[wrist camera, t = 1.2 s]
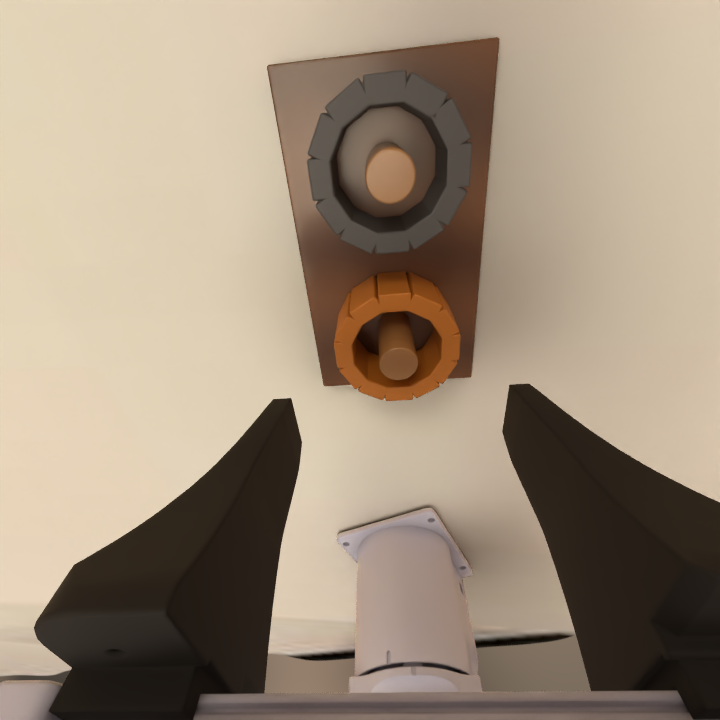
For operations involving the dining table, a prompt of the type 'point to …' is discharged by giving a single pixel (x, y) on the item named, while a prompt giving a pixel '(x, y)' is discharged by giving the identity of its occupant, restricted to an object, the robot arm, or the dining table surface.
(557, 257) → the dining table surface
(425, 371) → the amber tape
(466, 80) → the rack
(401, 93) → the ring
